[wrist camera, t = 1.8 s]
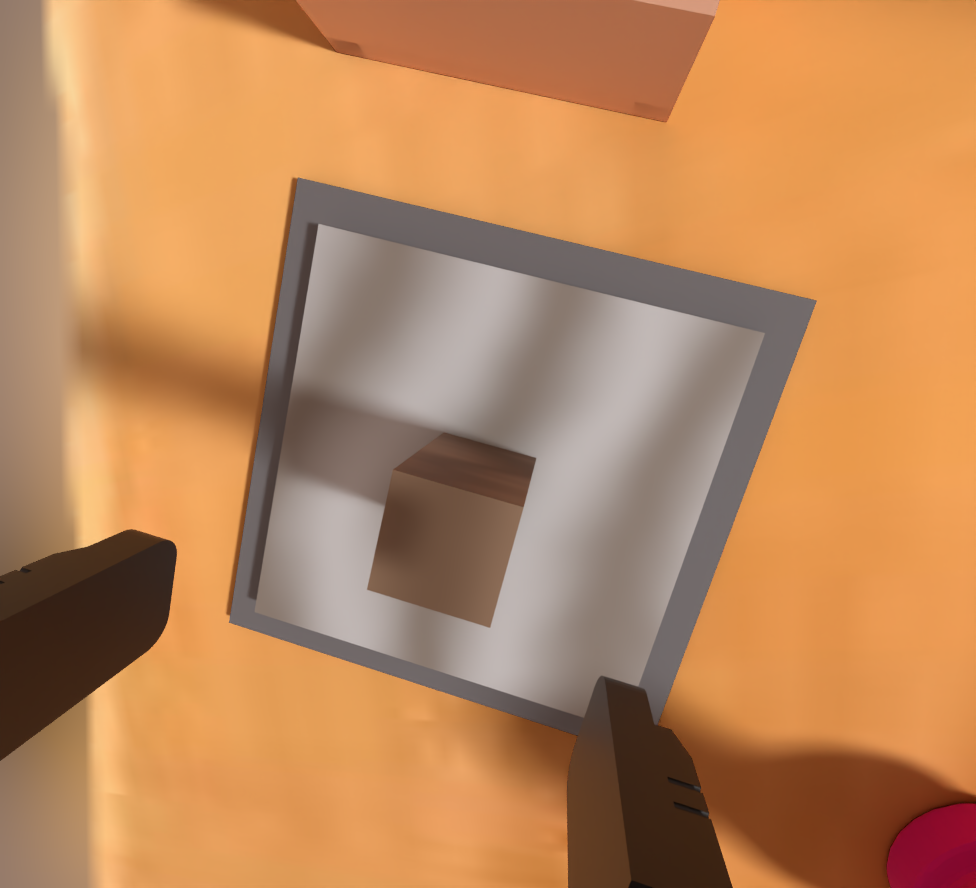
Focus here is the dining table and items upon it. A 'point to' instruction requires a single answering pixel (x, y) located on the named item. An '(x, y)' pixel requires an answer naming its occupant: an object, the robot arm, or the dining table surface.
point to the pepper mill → (936, 850)
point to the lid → (492, 467)
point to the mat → (560, 264)
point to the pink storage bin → (533, 44)
